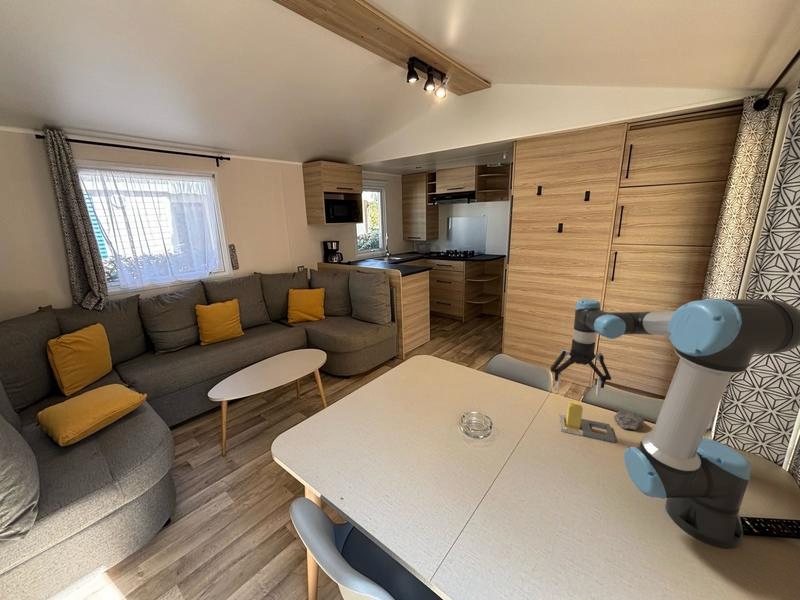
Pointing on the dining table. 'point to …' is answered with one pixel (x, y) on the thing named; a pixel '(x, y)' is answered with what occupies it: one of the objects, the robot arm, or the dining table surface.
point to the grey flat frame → (588, 429)
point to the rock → (628, 420)
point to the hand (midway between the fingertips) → (577, 391)
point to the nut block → (574, 414)
